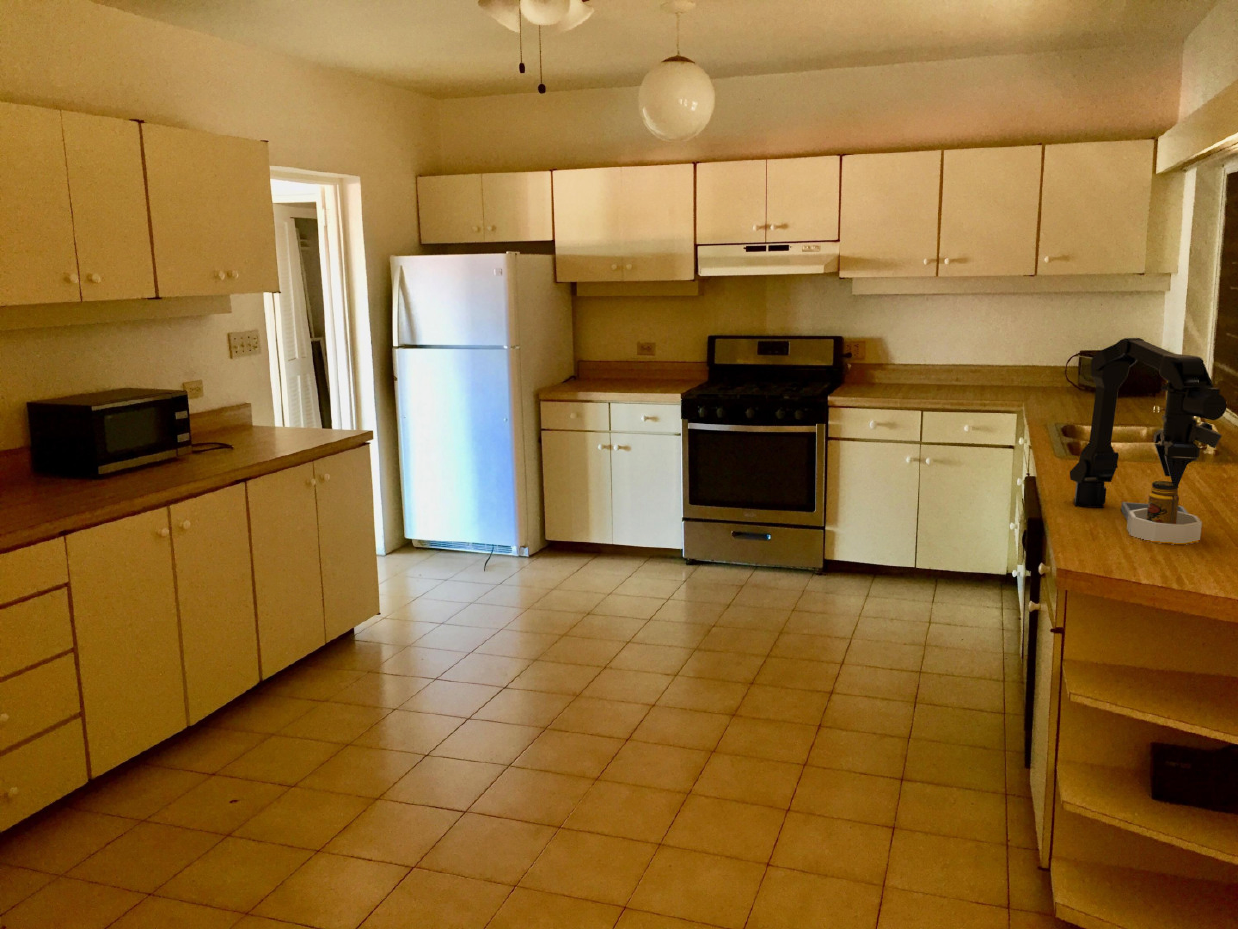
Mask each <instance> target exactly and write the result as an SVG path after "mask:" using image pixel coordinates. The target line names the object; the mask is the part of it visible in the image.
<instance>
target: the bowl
mask: <svg viewBox="0 0 1238 929" xmlns="http://www.w3.org/2000/svg"><path fill="white" fill-rule="evenodd" d="M1147 511H1148V508H1143V509H1137V510H1132V511H1129V513H1128V521H1127V522H1126V524H1127V525H1126V531H1127V530H1128V531H1127V533H1128V532H1129V533H1128V535H1129V536H1130V535H1131V536H1134V537H1133V538H1135V537H1137V538H1136V539H1138V538H1141V539H1140V540H1142V539H1144V540H1143V541H1145V540H1151V541H1160V542H1173V543H1187V542H1192V541H1197V540H1200V541H1201V534H1202V527H1203V522H1202V520H1201V519H1200V518H1199V517H1198V516H1197V515H1195V514H1190V513H1189V514H1187V513H1183V512H1179V511H1177V520H1176V524H1166V523H1156V522H1152V521H1148V520H1147ZM1131 536H1130V537H1131Z"/></svg>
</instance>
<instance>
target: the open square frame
mask: <svg viewBox="0 0 1238 929" xmlns="http://www.w3.org/2000/svg"><path fill="white" fill-rule="evenodd" d="M1143 508H1148V503H1144V502H1143V503H1139V502H1128V501H1121V506H1120V511H1121V512H1122V514H1123V516H1124V518H1125V519H1126V521H1127V522H1128V513H1129V511H1132V510H1137V509H1143ZM1178 511H1179V512H1183V513H1187V514H1190V513H1189V512H1188V511H1187V510H1186V508H1185V507H1184V506H1183V505H1178Z"/></svg>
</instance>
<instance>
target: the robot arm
mask: <svg viewBox="0 0 1238 929" xmlns="http://www.w3.org/2000/svg"><path fill="white" fill-rule="evenodd" d="M1090 361H1091V362H1090V376H1091V378H1092V380H1093V382H1094V384H1095V394H1094V395H1095V396H1094V402H1093V410H1092V417H1091V418H1092V419H1091V426H1090V435H1089V442H1088V443H1087V444H1086V445H1085V446H1084V448H1083V449H1082V451H1081V452H1080V456H1079V459H1078V462H1077V463H1076V464H1075V465H1074V467H1072V468H1071V470H1070V471H1069V479H1070V480H1071V481H1072V482H1075V490H1074V491H1075V493H1074V497H1073V503H1074V505H1075V506H1077V507H1087V508H1089V507H1090V508H1104V505H1105V504H1106V498H1107V496H1106V495H1107V487H1106V486H1105V483H1112V480H1113V478H1114V475H1115V473H1116V470H1117V469H1118V468H1119V466H1118V460H1119V456H1120V455H1119V453H1118V451H1117V452H1116V451H1115V450H1114V448H1113V446H1112V440H1113V431H1114V426H1115V425H1114V424H1115V418H1116V417H1115V416H1116V409H1117V404H1118V394H1119V388H1120V387H1121V386H1122V385H1123V383H1124V382H1125V381H1126V379H1127V378H1128V376H1129V371H1130V368H1131V367H1133V366H1134V365H1135V364H1136V363H1137V362H1141V363H1143V364H1145V365H1148V366H1150V367H1151V368H1154V369H1155V370H1157V371H1158V374H1159V376H1161V378H1163V379H1164V380H1166V381H1167V382H1166V383H1165V384H1163V385H1162V386H1161V387H1160V389H1161V391H1165V392H1166V397H1165V398H1166V399H1165V409H1164V414H1163V415H1162V417H1161V419H1162V421H1163V424H1162V425H1163V426H1162V429H1157V430H1156V431H1155V432H1154V433H1153V443H1154V447H1155V449H1156V454H1157V456H1158V458H1159V462H1160V464H1161V467H1162V470H1163V474H1164V476H1165V477H1170V479H1171V480H1170V482H1172V484H1173V485H1178V486H1179V485H1180V482H1181V480H1182V478H1183V475H1184V473H1185V471H1186V469H1187V467H1188V465H1189V464H1190V463H1192V462H1193V461H1196V460H1197V459H1198V458H1200V453H1201V452H1200V451H1201V449H1200V448H1199V446H1198V445H1196V444H1195V443H1196V441H1197V442H1199V443H1201V444H1205V445H1207V446H1209V447H1211V448H1213V449H1216V447H1217V445H1218V444H1219V442H1220V441H1221V438H1222V437H1223V435H1222V434H1221V433H1220V432H1218V431H1216V430H1213V425H1212V424H1211V423H1209V422H1205V421H1203V422H1202V423H1201V424H1198V423H1197V422H1198V421H1197V420H1196V419H1195V417H1197V418H1201V419H1204V420H1205V419H1206V420H1210V421H1216V420H1218V419H1220V418H1222V416H1224V414H1225V413H1226V410H1227V407H1228V404H1227V401H1226V399H1225V397H1224V396H1223V395H1221V394H1220V393H1221V389H1220V388H1219V387H1214V385H1213V379H1211V377H1210V375H1209V372H1208V370H1207V367H1206V364H1205V363H1204V360H1203V358H1202V357H1200V356H1197V355H1192V354H1191V355H1190V354H1178V353H1174V352H1171V351H1169V350H1166V349H1164V348H1161V347H1159V346H1157V345H1155V344H1152V343H1149V341H1148V342H1147V341H1145V340H1144V339H1143V338H1141V337H1125V338H1122V339H1119V341H1117V342H1115V344H1112V345H1110V346H1107V347H1106V348H1103V349H1101V350H1100V351H1098V352H1096V353H1095V355H1093V356H1092V357H1091V360H1090Z"/></svg>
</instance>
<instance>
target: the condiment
mask: <svg viewBox="0 0 1238 929" xmlns="http://www.w3.org/2000/svg"><path fill="white" fill-rule="evenodd" d="M1178 490H1179V485H1173V484H1172V481H1167V480H1156V481H1153V482H1152V483H1151V492H1149V494H1148V502H1147V504H1148V511H1147V520H1148V521H1152V522H1156V523H1166V524H1176V520H1177V511H1178V506H1179V501H1180V496H1179V495H1178V494H1179V493H1178V492H1179V491H1178Z"/></svg>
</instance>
